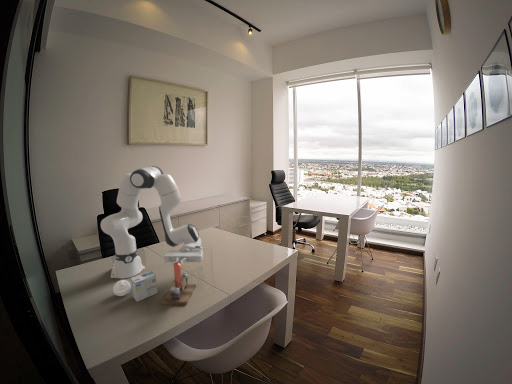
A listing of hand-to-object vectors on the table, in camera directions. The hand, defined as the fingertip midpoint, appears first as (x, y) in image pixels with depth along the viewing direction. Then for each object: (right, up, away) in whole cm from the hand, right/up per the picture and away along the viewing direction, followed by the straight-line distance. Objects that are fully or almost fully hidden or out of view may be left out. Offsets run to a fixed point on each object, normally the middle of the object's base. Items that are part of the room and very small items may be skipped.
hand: (178, 263), depth 115 cm
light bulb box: (-19, -18, +4) cm, 26 cm away
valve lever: (+1, -9, -3) cm, 10 cm away
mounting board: (0, -18, +4) cm, 18 cm away
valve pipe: (0, -16, +3) cm, 17 cm away
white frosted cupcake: (-31, -18, +5) cm, 36 cm away
